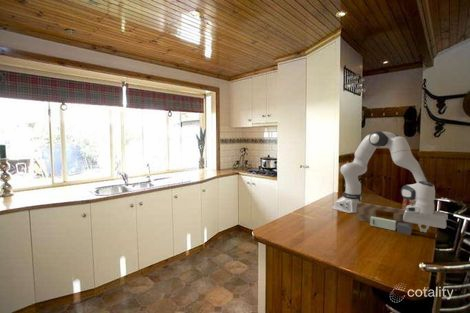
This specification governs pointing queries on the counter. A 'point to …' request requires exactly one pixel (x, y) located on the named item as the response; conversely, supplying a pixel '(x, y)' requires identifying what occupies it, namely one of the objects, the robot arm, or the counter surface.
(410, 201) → the milk carton
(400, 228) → the block
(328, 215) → the counter surface
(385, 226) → the sliding door
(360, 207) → the wall frame
